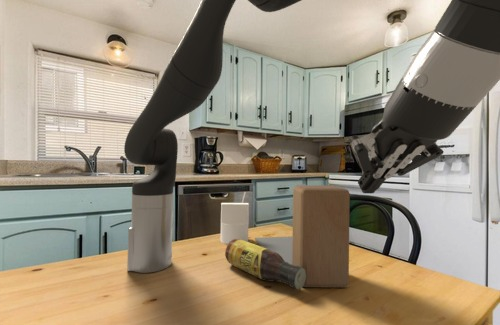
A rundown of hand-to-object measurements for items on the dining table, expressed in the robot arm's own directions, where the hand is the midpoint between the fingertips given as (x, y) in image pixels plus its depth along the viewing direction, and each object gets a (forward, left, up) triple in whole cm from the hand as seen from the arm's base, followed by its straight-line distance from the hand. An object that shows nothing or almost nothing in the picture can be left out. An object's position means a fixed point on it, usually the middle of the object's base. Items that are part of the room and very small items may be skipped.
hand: (364, 188), depth 38 cm
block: (0, +16, -21) cm, 27 cm away
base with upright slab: (-15, +45, -21) cm, 52 cm away
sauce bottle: (-17, +27, -18) cm, 37 cm away
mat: (0, +34, -21) cm, 40 cm away
